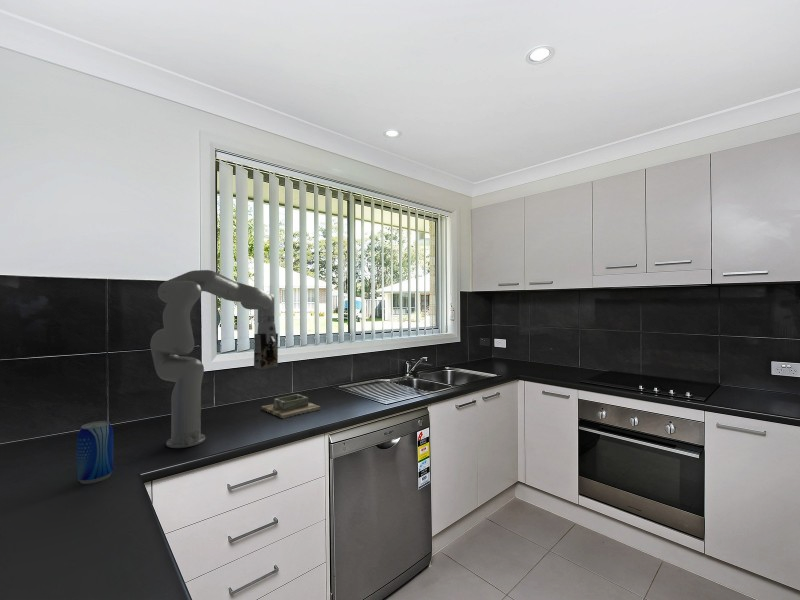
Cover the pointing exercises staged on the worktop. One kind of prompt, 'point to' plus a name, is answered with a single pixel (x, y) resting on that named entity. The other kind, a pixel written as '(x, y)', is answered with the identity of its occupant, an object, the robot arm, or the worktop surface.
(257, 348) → the coffee box
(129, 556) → the worktop surface
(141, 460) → the worktop surface
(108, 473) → the beer can
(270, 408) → the collar board
